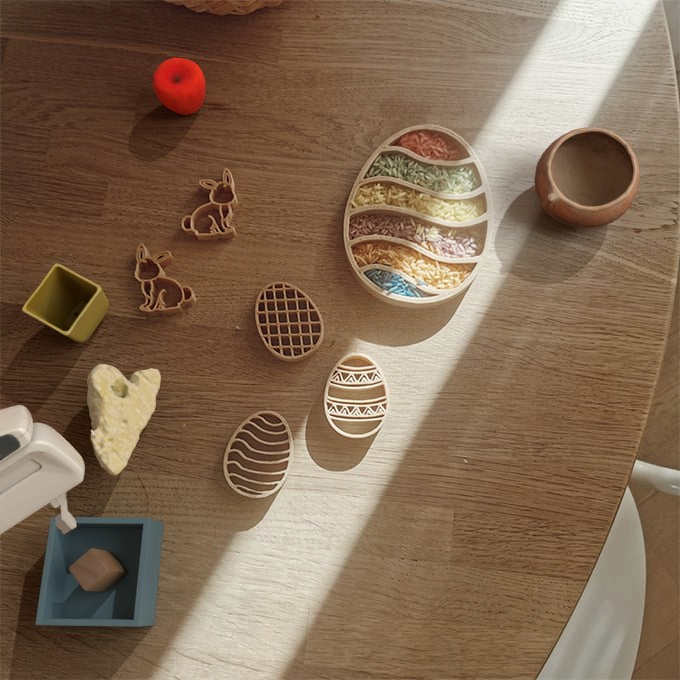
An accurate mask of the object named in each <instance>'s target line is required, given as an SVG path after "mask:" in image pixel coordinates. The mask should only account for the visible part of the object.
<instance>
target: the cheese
mask: <svg viewBox="0 0 680 680" xmlns="http://www.w3.org/2000/svg"><path fill="white" fill-rule="evenodd" d="M161 380H162V377H161V372H160V370H159V369H158V368H152V367H150V368H147V369H140V370H136V371H135V372H132V374H131V376H130V378H129V380H128V379H127V377H125V376H124V374H123V373H122V372H121V371H120V370H119V369H118V368H116V367H115V366H113V365H109V364H105V363H99V364H97V365H96V366H94V367H93V368H92V369H91V371H90V372H89V373H88V375H87V379H86V384H87V395H86V403H87V407H88V411H89V418H90V420H91V423H90V425H91V428H92V429H91V430H90V432H91V433H90V442H91V444H92V448H93V452H94V455H95V457H96V459H97V461H98V463H99V465H100V467H101V468H102V469H104V470H105V471H106V473H107V474H109V475H111V476H117V475H119V474H120V473H122V471H123V470H124V469H125V468H126V467H127V465H128V463H129V460H130V458H131V455H132V454H133V451H134V450H135V448H136V447H137V444H138V442H139V440H140V434H141V433H142V432H143V430H144V429H145V428H146V426H147V425H148V422H149V421H150V420H151V418H152V415H153V414H154V413H155V410H156V407H157V401H156V399H157V395H158V393H159V391H160V388H161V383H162V381H161Z"/></svg>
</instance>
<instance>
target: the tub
mask: <svg viewBox="0 0 680 680" xmlns="http://www.w3.org/2000/svg"><path fill="white" fill-rule="evenodd" d="M55 517H56V516H51V517H50V520H49V528H48V535H47V539H46V540H47V541H46V547H45V548H46V549H45V554H44V563H43V569H42V575H41V582H40V588H39V589H40V590H39V596H38V597H39V598H38V604H37V611H36V618H35V622H34V623H35V626H59V627H60V626H65V627H66V626H67V627H71V626H72V627H128V628H129V627H131V628H135V627H136V628H139V627H140V628H141V627H152V626H155V621H156V611H157V602H158V601H157V599H158V589H159V579H160V570H161V569H160V568H161V559H162V546H163V537H164V526H165V523H164V522H162V521H159V520H157V519H154V518H151V517H99V516H98V517H95V516H93V517H92V516H91V517H87V516H86V517H85V516H84V517H83V516H73V517H74V518H75V520H76V526H77V527H76V528H74V529H73V530H71V531H69V532H68V533H66V534H63V533H62V532H61V530H60V529H58V528H57V526H56V525H55V522H56V520H55ZM91 548H96V549H100V550H105V551H110V552H113V553H114V554H115V555H116V557H117V558H118V559H119V561H120V562H121V563H122V564H123V566H124V567H125V568H126V570H127V572H128V573H127V575H126V576H124V577H123V578H122V579H121V580H120V581H119V582H118V583H117V584H115V585H114V586H113V587H112V588H111V589H110V590H109V591H107V592H96V591H85V590H84V589H83V588H82V587H81V585H80V584H79V583H78V581H77V580H76V579H75V577H74V576H73V574H72V573H71V572H70V570H69V568H70V566H71V565H72V564H73V563H75V562H76V561H77V560H78V559H79V558H80V557H81V556H83V555H84V554H85V553H86V552H87V551H88V550H89V549H91Z"/></svg>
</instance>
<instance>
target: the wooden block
mask: <svg viewBox="0 0 680 680" xmlns="http://www.w3.org/2000/svg"><path fill="white" fill-rule="evenodd" d="M69 570H70V572H71V573H72V574H73V576H74V577H75V579H76V580H77V581H78V583H79V584H80V585H81V587H82V588H83V589H84V590H85V591H96V592H107V591H109V590H110V589H111V588H112V587H113V586H114V585H115V584H117V583H118V582H119V581H120V580H121V579H122V578H123V577H124V576H126V575H127V573H128V572H127V570H126V568H125V567H124V566H123V564H122V563H121V562H120V561H119V559H118V558H117V557H116V555H115V554H114V553H113V552H110V551H105V550H100V549H96V548H91V549H89V550H88V551H87V552H86V553H85V554H84V555H83V556H81V557H80V558H79V559H78V560H77V561H76V562H75V563H73V564H72V565H71V566H70V568H69Z"/></svg>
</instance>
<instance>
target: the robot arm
mask: <svg viewBox="0 0 680 680" xmlns="http://www.w3.org/2000/svg"><path fill="white" fill-rule="evenodd" d="M85 467H86V466H85V461H84V459H83V457H82V456H81V454H80V453H79V452H78V451H77V450H76V449H75V448H74V447H73V445H72V444H71V443H70V442H69V441H67V440H66V439H65V437H63V436H62V435H61V434H60V433H59V432H58V431H56V429H54V428H53V427H52V426H50V425H48V424H46V423H43V422H34V421H33V416H32V414H31V412H30V410H29V409H28V408H27V407H26V406H25V405H22V404H17V405H13V406H9V407H5V408H2V409H0V536H1V535H2V534H4V533H5V532H7V531H8V530H10V529H11V528H13V527H14V526H16V525H18V524H20V523H21V522H22V521H24V520H25V519H27V518H29V517H30V516H31V515H33V514H35V513H36V512H38V511H39V510H41V509H43V508H44V507H45V506H47V505H48V504H50V505H51V506H52V507H53V508H54V509H57V508H59V507H60V508H59V509H60V513H58V514H57V515H56V516H54V517H55V520H56V522H55V525H56V526H57V528H58V529H60V530H61V532H62V533H63V534H66V533H68V532H69V531H71V530H73V529H74V528H76V527H77V526H76V520H75V518H74V517H75V516H73V514H72V513H70V511H69V510H68V499H67V492H68V491H71V490H72V489H73V488H75V487H76V486H78V485H79V484H81V483H82V482H83V481H84V478H85V471H86V468H85Z"/></svg>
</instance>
